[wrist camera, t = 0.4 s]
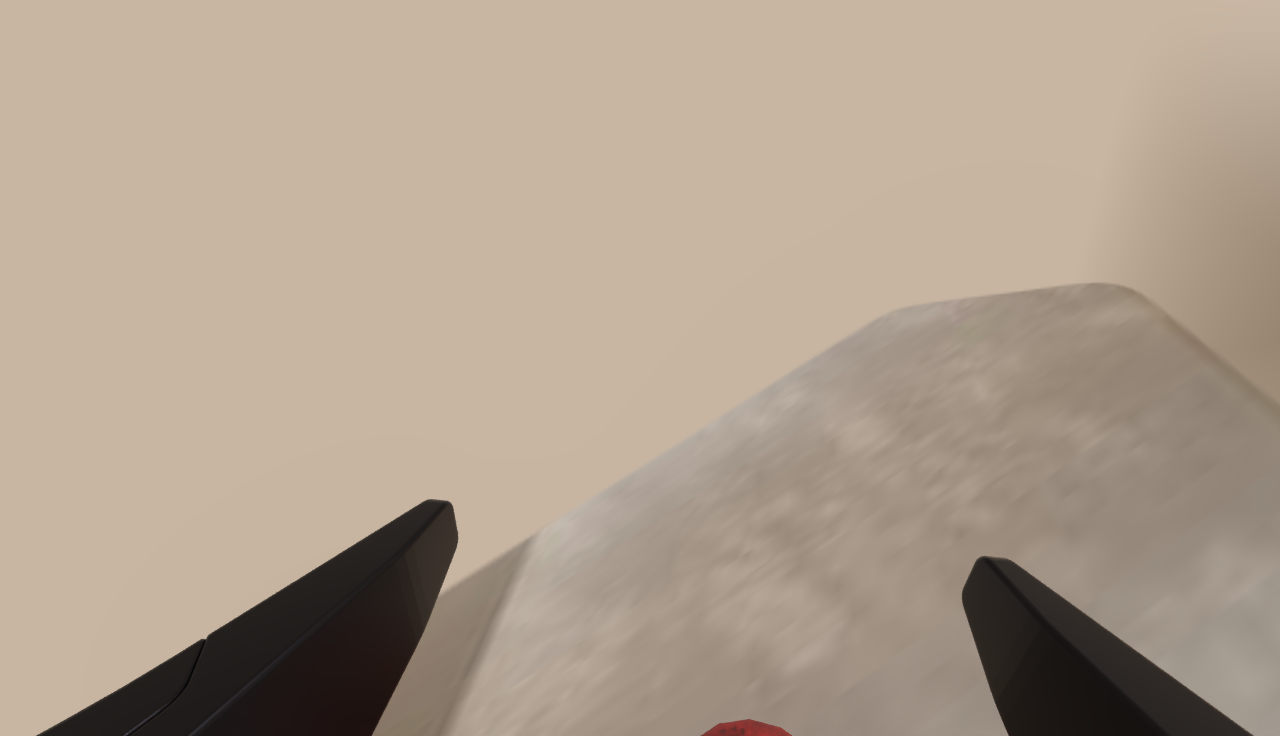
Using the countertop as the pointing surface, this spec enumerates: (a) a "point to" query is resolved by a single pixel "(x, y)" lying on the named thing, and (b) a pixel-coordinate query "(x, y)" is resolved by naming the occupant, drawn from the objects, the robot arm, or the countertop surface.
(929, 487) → the countertop surface
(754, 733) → the onion
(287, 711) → the robot arm
